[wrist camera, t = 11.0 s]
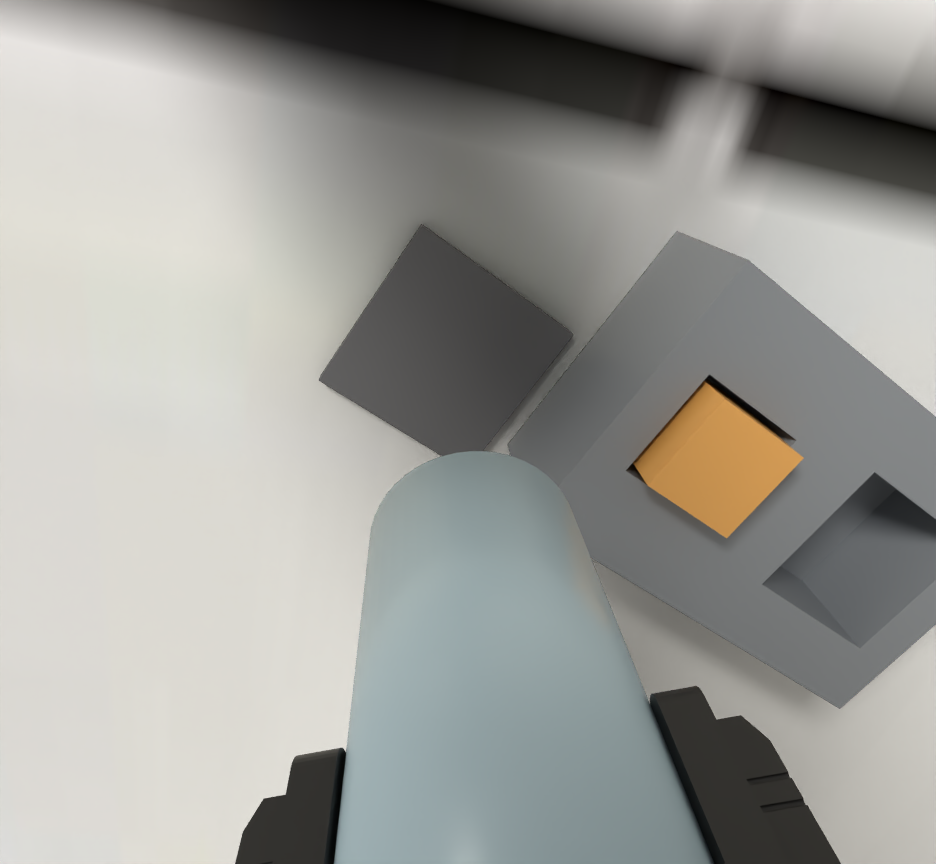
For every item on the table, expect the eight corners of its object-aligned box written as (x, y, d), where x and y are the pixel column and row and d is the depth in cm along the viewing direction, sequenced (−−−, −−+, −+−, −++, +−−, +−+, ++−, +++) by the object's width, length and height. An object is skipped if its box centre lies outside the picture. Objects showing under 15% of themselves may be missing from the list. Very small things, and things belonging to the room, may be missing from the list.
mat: (320, 375, 31) (318, 380, 31) (421, 223, 29) (421, 225, 29) (465, 465, 34) (466, 471, 33) (570, 331, 31) (573, 335, 31)
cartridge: (337, 465, 16) (166, 1214, 5) (572, 424, 16) (915, 1084, 5) (387, 650, 18) (344, 1453, 7) (593, 613, 18) (864, 1362, 7)
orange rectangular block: (611, 430, 30) (647, 485, 25) (675, 355, 29) (724, 399, 24) (680, 476, 31) (726, 538, 26) (743, 406, 30) (803, 458, 25)
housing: (507, 444, 33) (529, 520, 27) (677, 231, 30) (748, 259, 24) (769, 611, 38) (840, 708, 32) (939, 446, 35) (1056, 517, 29)
